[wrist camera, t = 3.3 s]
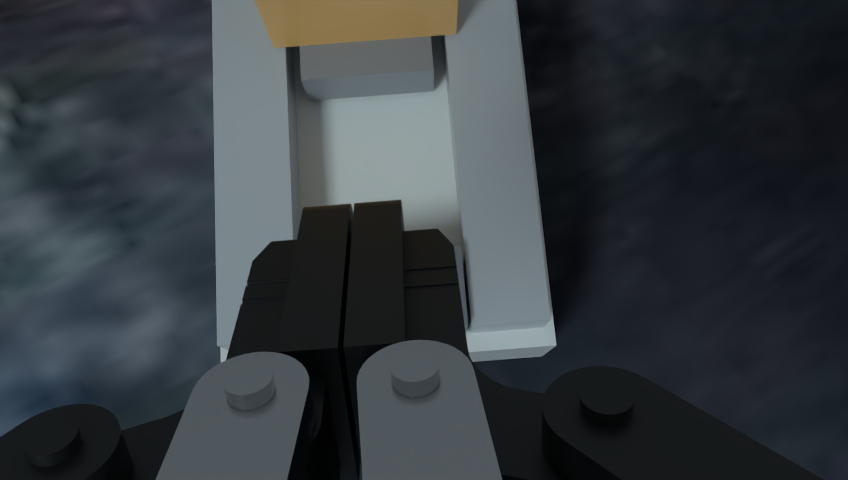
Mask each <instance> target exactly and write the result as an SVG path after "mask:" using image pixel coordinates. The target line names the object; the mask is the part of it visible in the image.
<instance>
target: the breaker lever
mask: <svg viewBox="0 0 848 480" xmlns="http://www.w3.org/2000/svg"><path fill="white" fill-rule="evenodd" d="M254 1H255V3H256V6H257V8H258V11H259V13H260V15H261V18H262V20H263V23H264V25H265V28H266V30H267V32H268V35H269V37H270V40H271V42H272V45H273V47H274V48H281V47H294V46H299V47H300V70H301V81H302V84H303V87H304V89H305V92H306V95H307V97H308V100H309V101H313V100H326V99H339V98H352V97H365V96H378V95H391V94H404V93H417V92H431V91H434V68H433V56H432V45H431V36H439V35H452V34H456V30H457V11H458V0H254Z"/></svg>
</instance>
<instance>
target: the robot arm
mask: <svg viewBox="0 0 848 480" xmlns="http://www.w3.org/2000/svg"><path fill="white" fill-rule="evenodd" d="M360 462H361V469H362V477H363V480H823V479H822V478H820V477H818V476H816V475H815V474H813V473H811V472H809V471H807V470H806V469H804V468H802V467H800V466H799V465H797V464H795V463H793V462H792V461H790V460H788V459H786V458H785V457H783V456H781V455H779V454H778V453H776V452H774V451H772V450H771V449H769V448H767V447H765V446H764V445H762V444H760V443H758V442H757V441H755V440H753V439H751V438H750V437H748V436H746V435H744V434H743V433H741V432H739V431H737V430H736V429H734V428H732V427H730V426H729V425H727V424H725V423H723V422H722V421H720V420H718V419H716V418H714V417H713V416H711V415H709V414H707V413H706V412H704V411H702V410H700V409H699V408H697V407H695V406H693V405H692V404H690V403H688V402H686V401H685V400H683V399H681V398H679V397H678V396H676V395H674V394H672V393H671V392H669V391H667V390H665V389H664V388H662V387H660V386H658V385H657V384H655V383H653V382H651V381H650V380H648V379H646V378H644V377H642V376H640V375H638V374H636V373H633V372H630V371H627V370H624V369H619V368H614V367H605V366H594V367H585V368H580V369H576V370H573V371H570V372H568V373H565V374H564V375H562V376H560V377H558V378H557V379H556V380H555V381H554V382H552V383H551V385H550V386H549V387H548V388H547V390H546V392H545V394H542V393H536V392H530V391H523V390H519V389H514V388H510V387H507V386H504V385H501V384H499V383H497V382H495V381H493V380H491V379H490V378H488V377H487V376H485V375H484V374H483V373H482V372H480V371H479V370H478V369H477V367H476V366H475V365H474V364H473V362H472V360H471V358H470V356H469V352H468V346H467V339H466V331H465V324H464V317H463V309H462V302H461V295H460V287H459V280H458V272H457V265H456V258H455V250H454V245H453V244H452V243H451V242H450V241H449V240H448V239H447V238H446V237H445V236H444V235H443V234H442V232H441V231H440V230H439V229H438V228H437V229H424V230H411V231H404V220H403V210H402V201H401V200H389V201H376V202H363V203H354V211H353V209H352V205H351V204H339V205H325V206H312V207H304V208H303V210H302V215H301V220H300V226H299V231H298V236H297V239H296V240H283V241H271V242H270V243H269V244H268V245H267V246H266V247H265V248H264V249H263V250H262V251H261V253H260V254H259V255H258V256H257V257H256V258H255V259H254V260H253V261H252V265H251V268H250V272H249V276H248V280H247V286H246V287H245V291H244V294H243V298H242V304H241V306H240V309H239V313H238V317H237V321H236V324H235V328H234V332H233V335H232V339H231V343H230V347H229V350H228V354H227V358H226V361H224V362H222V363H220V364H218V365H216V366H215V367H213V368H212V369H210V370H209V371H208V372H207V373H206V374H204V375H203V376H202V377H201V379H200V380H199V381H198V382H197V384H196V385H195V387H194V389H193V391H192V393H191V396H190V398H189V400H188V403H187V405H186V408H185V409H184V410H182V411H180V412H177V413H175V414H173V415H170V416H167V417H164V418H162V419H158V420H155V421H152V422H148V423H145V424H142V425H139V426H135V427H132V428H129V429H126V430H121V427H120V425H119V422H118V420H117V418H116V417H115V415H114V414H113V413H111V412H110V411H109V410H107V409H105V408H103V407H100V406H96V405H89V404H73V405H67V406H62V407H58V408H54V409H51V410H48V411H45V412H42V413H40V414H38V415H36V416H34V417H32V418H30V419H28V420H26V421H25V422H23V423H21V424H20V425H18V426H17V427H15V428H14V429H12V430H10V431H9V432H7V433H6V434H4V435H3V436H1V437H0V480H359V476H360Z"/></svg>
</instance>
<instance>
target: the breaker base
mask: <svg viewBox="0 0 848 480" xmlns="http://www.w3.org/2000/svg"><path fill="white" fill-rule="evenodd" d="M212 35H213V101H214V166H215V232H216V297H217V346H219V347H221V363H222V362H224V361H226V358H227V354H228V350H229V347H230V343H231V339H232V335H233V332H234V328H235V324H236V321H237V317H238V313H239V309H240V306H241V304H242V298H243V294H244V291H245V287H246V286H247V280H248V276H249V272H250V268H251V265H252V261H253V260H254V259H255V258H256V257H257V256H258V255H259V254H260V253H261V251H262V250H263V249H264V248H265V247H266V246H267V245H268V244H269V243H270V242H271V241H283V240H296V239H297V236H298V231H299V226H300V220H301V215H302V210H303V208H304V207H312V206H325V205H339V204H351V205H352V209H353V211H354V203H363V202H376V201H389V200H401V201H402V210H403V220H404V231H411V230H424V229H437V228H438V229H439V230H440V231H441V232H442V234H443V235H444V236H445V237H446V238H447V239H448V240H449V241H450V242H451V243H452V244H453V245H454V250H455V258H456V265H457V272H458V280H459V287H460V295H461V302H462V309H463V317H464V324H465V331H466V339H467V346H468V352H469V356H470V358H471V360H472V362H476V361H489V360H502V359H514V358H527V357H540V356H543V355H544V354H546V353H547V352H548V351H550V350H551V349H552V348H553V347H555V346H556V338H555V329H554V321H553V312H552V303H551V295H550V286H549V278H548V269H547V260H546V252H545V243H544V234H543V226H542V217H541V208H540V200H539V191H538V182H537V174H536V165H535V157H534V148H533V139H532V131H531V122H530V113H529V105H528V96H527V87H526V79H525V70H524V61H523V53H522V44H521V35H520V27H519V18H518V10H517V1H516V0H458V11H457V30H456V34H452V35H439V36H431V45H432V56H433V68H434V91H431V92H417V93H404V94H391V95H378V96H365V97H352V98H339V99H326V100H313V101H309V100H308V97H307V95H306V92H305V89H304V87H303V84H302V81H301V70H300V47H299V46H294V47H281V48H274V47H273V45H272V42H271V40H270V37H269V35H268V32H267V30H266V28H265V25H264V23H263V20H262V18H261V15H260V13H259V11H258V8H257V6H256V3H255V1H254V0H212Z"/></svg>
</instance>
